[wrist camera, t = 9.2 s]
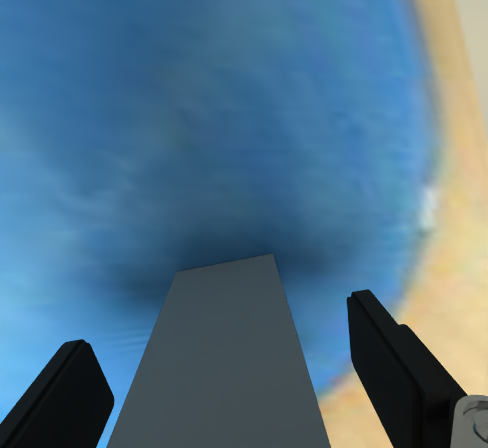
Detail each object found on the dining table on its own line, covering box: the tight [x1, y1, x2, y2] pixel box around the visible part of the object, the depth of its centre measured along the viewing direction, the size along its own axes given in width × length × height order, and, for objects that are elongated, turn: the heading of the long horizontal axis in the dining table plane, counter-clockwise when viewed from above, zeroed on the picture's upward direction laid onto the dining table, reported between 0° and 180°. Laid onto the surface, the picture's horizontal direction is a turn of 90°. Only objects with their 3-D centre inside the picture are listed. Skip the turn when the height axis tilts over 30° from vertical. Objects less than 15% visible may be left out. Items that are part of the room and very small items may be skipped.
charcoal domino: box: [106, 253, 331, 448], centre depth 10 cm, size 2×5×10 cm, turn 101°
